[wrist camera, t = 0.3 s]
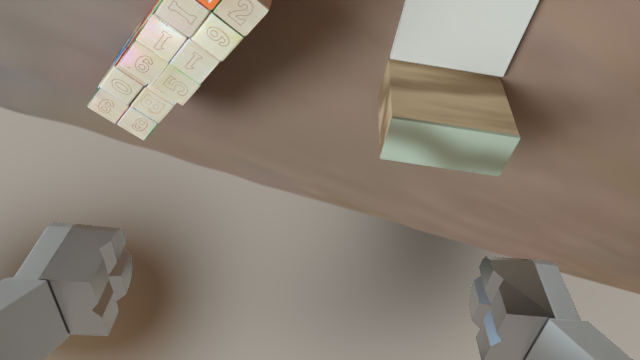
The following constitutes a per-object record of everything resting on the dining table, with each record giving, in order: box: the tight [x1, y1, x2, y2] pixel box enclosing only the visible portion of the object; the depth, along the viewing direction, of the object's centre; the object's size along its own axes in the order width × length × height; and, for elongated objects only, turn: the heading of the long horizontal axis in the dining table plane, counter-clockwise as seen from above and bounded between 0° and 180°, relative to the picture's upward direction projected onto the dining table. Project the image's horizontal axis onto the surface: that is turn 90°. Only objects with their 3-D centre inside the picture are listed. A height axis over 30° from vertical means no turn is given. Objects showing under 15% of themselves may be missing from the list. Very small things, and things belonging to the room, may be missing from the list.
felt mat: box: [390, 0, 539, 77], centre depth 49 cm, size 10×12×1 cm
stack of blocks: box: [87, 0, 272, 140], centre depth 46 cm, size 21×6×12 cm, turn 138°
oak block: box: [378, 60, 520, 176], centre depth 52 cm, size 5×12×10 cm, turn 82°
